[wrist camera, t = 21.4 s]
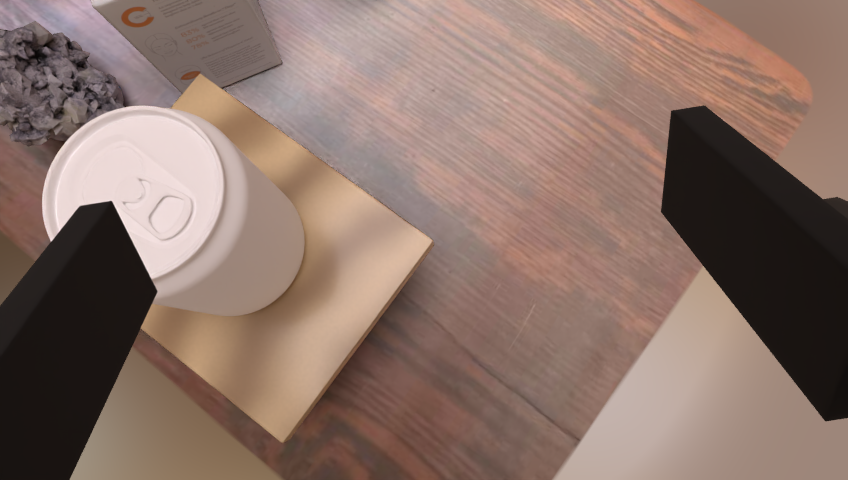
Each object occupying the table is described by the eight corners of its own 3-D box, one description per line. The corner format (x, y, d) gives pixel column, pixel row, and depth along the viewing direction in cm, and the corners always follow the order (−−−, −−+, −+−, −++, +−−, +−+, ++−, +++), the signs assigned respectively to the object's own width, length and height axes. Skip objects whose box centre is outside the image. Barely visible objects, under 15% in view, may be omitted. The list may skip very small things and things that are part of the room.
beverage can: (222, 156, 36) (112, 59, 24) (334, 224, 35) (277, 157, 23) (142, 270, 35) (-14, 226, 23) (256, 344, 34) (153, 338, 22)
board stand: (436, 264, 44) (434, 240, 34) (319, 424, 42) (282, 443, 33) (249, 129, 46) (199, 72, 37) (130, 274, 44) (47, 252, 35)
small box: (257, -2, 48) (189, -130, 36) (284, 64, 47) (224, -43, 34) (163, 35, 48) (61, -80, 35) (188, 103, 47) (91, 9, 34)
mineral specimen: (-87, 85, 44) (-114, 28, 36) (19, 18, 48) (18, -47, 40) (53, 204, 48) (58, 177, 40) (140, 131, 52) (161, 93, 44)
